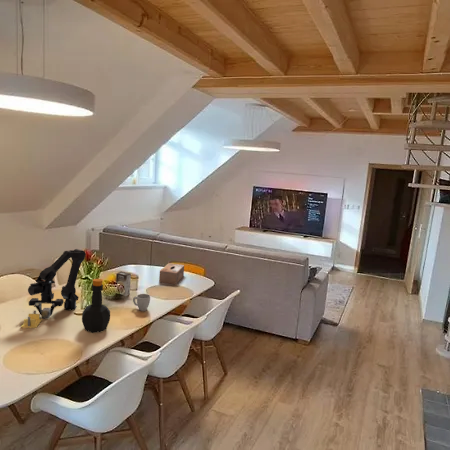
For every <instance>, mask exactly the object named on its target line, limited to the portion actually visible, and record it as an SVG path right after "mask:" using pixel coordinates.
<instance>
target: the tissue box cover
mask: <svg viewBox="0 0 450 450" xmlns="http://www.w3.org/2000/svg"><path fill="white" fill-rule="evenodd" d="M184 273H185V264H178V263H171V262H169V263H167V264H166V265H165V266H164V267H163V268H161V269H160V270H159V278H158V279H159V281H158V282H159V283H164V284H172V285H177V284H178V283H179V281H180V280H181V279H182V278H183V277H184Z"/></svg>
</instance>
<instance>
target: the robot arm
mask: <svg viewBox="0 0 450 450" xmlns="http://www.w3.org/2000/svg"><path fill="white" fill-rule="evenodd" d="M86 255H87V254H86V251H84V250H83V249H78V248H75V249H72V250H64V251H63V253H62V254H61V255H60V256H59V257H58V258H57V259H56V260H55V261H54V262H52V264H51V265H50V266H48V267H46V268H44V269H43V270H41V271H40V272H39V275H38V277H37V278H36V280H35V282H32V283H30V284H29V285H30V286H28V288H27V293H28V295H30V296H35V295H38V294H39V295H40V296H41V297H40V298H41V299H39V298H38V297H32V298H31V299H29V301H28V307H29V306H32V307H34V308H35V309H36V311H38V314H40V316H41V311H42V310H43V307H42V304H44V305H45V304H47V305H49V304H51V305H50V308H51V311H50V315H51V316H52V315H53V314H54V310H55V308H57V307H61V306H63V307H64V311H75V310H76V308H77V301H79V298H80V297H79V296H78V295H77V294H76V282H77V278H78V274H79V270H80V267H81V265H82V263H83V262H84V261H85V258H86ZM70 259H71V262H72V264H71V267H70V270H69V273H68V279H67V283H66V284H65V285H64V286H62V287H61V291H60V294H61V295H60V296H61V297H62V298H56V299H55V300H54V298H55V293H54V292H53V291H52V290H53V287H52V285H53V284H55V283H56V281H55V280H54V278H56V275H57V272H58V271H59V270H60V269H61V268H62V267H63V266H64V265H65V264H66V263H67V262H68V261H69V260H70Z"/></svg>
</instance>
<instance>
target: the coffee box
mask: <svg viewBox="0 0 450 450" xmlns="http://www.w3.org/2000/svg"><path fill="white" fill-rule="evenodd" d="M115 275H116V276H115V284H116V283H117V284H120V285H123V286H124V290H125V293H124V296H123V297H127V296H129V295H130V294H131V282H132V281H131V278H132V273H131V272H125V271H121V270H120V271H119V272H117V273H115Z"/></svg>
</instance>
